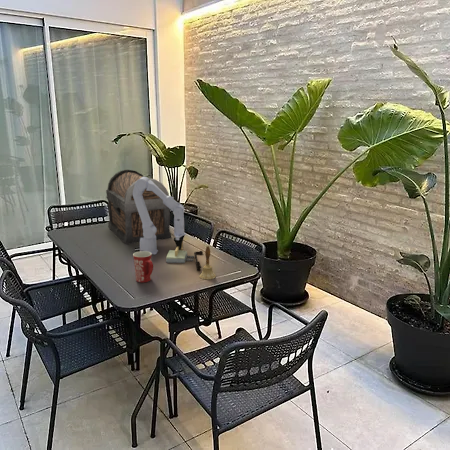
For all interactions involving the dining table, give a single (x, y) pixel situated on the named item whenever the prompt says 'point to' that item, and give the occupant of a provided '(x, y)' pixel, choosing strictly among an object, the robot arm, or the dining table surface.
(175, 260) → the shallow grey tray
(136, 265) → the mug
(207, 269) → the hand bell
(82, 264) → the dining table surface
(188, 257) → the keeper
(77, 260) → the dining table surface
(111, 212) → the treasure chest
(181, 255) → the lid
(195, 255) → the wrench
